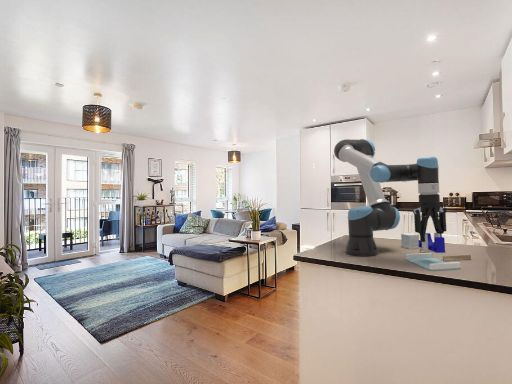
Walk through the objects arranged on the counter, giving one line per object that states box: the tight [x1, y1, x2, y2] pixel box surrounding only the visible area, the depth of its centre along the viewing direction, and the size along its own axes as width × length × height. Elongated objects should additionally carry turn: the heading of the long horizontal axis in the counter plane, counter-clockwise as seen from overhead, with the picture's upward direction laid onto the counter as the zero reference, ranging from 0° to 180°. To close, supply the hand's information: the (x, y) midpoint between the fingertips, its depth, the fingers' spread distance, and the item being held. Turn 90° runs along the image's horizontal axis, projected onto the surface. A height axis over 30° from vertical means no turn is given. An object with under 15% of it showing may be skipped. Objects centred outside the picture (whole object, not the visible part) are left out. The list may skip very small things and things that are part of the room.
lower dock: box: [405, 252, 461, 271], centre depth 116 cm, size 16×12×2 cm
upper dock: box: [419, 247, 472, 262], centre depth 127 cm, size 16×12×2 cm
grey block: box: [400, 232, 420, 250], centre depth 146 cm, size 6×6×7 cm
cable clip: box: [418, 232, 446, 254], centre depth 115 cm, size 12×4×6 cm, turn 174°
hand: (431, 248), depth 115 cm, fingers closed on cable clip, 5 cm apart
